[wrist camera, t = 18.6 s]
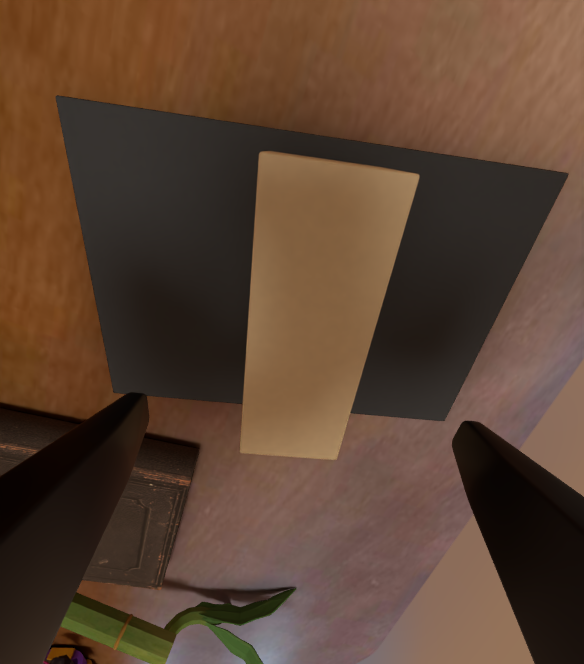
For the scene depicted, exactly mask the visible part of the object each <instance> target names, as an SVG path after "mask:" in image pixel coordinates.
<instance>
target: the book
mask: <svg viewBox="0 0 584 664" xmlns="http://www.w3.org/2000/svg"><path fill="white" fill-rule="evenodd" d="M43 664H93V663H92V662H91V660H89V659H87V660H85V658H84V656H83V655H82V653H81V652H80V651H77V650H76V649H75V648H51V649H49V651H48V653H47V655H46V657H45V659H44V662H43Z"/></svg>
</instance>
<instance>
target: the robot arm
mask: <svg viewBox="0 0 584 664" xmlns="http://www.w3.org/2000/svg"><path fill="white" fill-rule="evenodd" d="M148 422H149V410H148V403H147V397H146V395H145V394H144V393H135V392H130V393H127V394H126V395H124V396H123V397H121V398H119V399H118V400H116V401H115V402H113V403H112V404H110V405H109V406H107V407H106V408H104V409H103V410H101V411H99V412H98V413H96V414H95V415H93V416H92V417H90V418H89V419H87V420H86V421H84V422H83V423H81V424H80V425H78V426H76V427H75V428H73V429H72V430H70V431H69V432H67V433H66V434H64V435H63V436H61V437H60V438H58V439H56V440H55V441H53V442H52V443H50V444H49V445H47V446H46V447H44V448H43V449H41V450H40V451H38V452H37V453H35V454H33V455H32V456H30V457H29V458H27V459H26V460H24V461H23V462H21V463H20V464H18V465H17V466H15V467H13V468H12V469H10V470H9V471H7V472H6V473H4V474H3V475H1V476H0V664H43V662H44V659H45V657H46V655H47V653H48V651H49V649H50V647H51V645H52V642H53V640H54V638H55V636H56V634H57V632H58V630H59V628H60V625H61V623H62V621H63V619H64V617H65V615H66V613H67V610H68V608H69V606H70V604H71V602H72V600H73V598H74V596H75V593H76V591H77V589H78V587H79V585H80V583H81V581H82V578H83V576H84V574H85V572H86V570H87V568H88V566H89V564H90V561H91V559H92V557H93V555H94V553H95V551H96V549H97V547H98V544H99V542H100V540H101V538H102V536H103V534H104V532H105V529H106V527H107V525H108V523H109V521H110V519H111V517H112V515H113V512H114V510H115V508H116V506H117V504H118V502H119V500H120V497H121V495H122V493H123V491H124V489H125V487H126V485H127V482H128V480H129V478H130V475H131V472H132V470H133V467H134V464H135V461H136V458H137V455H138V452H139V449H140V446H141V443H142V440H143V437H144V434H145V432H146V429H147V426H148ZM452 448H453V452H454V455H455V459H456V462H457V465H458V469H459V472H460V475H461V479H462V482H463V485H464V489H465V492H466V495H467V498H468V501H469V503H470V506H471V509H472V511H473V514H474V516H475V518H476V521H477V523H478V526H479V528H480V531H481V533H482V536H483V538H484V541H485V543H486V545H487V548H488V550H489V553H490V555H491V558H492V560H493V563H494V565H495V567H496V570H497V572H498V575H499V577H500V580H501V582H502V585H503V587H504V590H505V592H506V595H507V597H508V599H509V602H510V604H511V607H512V609H513V612H514V614H515V616H516V619H517V622H518V624H519V626H520V629H521V631H522V634H523V636H524V639H525V641H526V644H527V646H528V649H529V651H530V653H531V656H532V658H533V661H534V663H535V664H584V497H583V496H582V495H581V494H579V493H578V492H576V491H575V490H574V489H572V488H571V487H569V486H568V485H567V484H565V483H564V482H562V481H561V480H560V479H558V478H557V477H555V476H554V475H553V474H551V473H550V472H548V471H547V470H546V469H544V468H543V467H541V466H540V465H538V464H537V463H536V462H534V461H533V460H531V459H530V458H529V457H527V456H526V455H525V454H523V453H522V452H520V451H519V450H518V449H516V448H515V447H514V446H512V445H511V444H509V443H508V442H507V441H505V440H504V439H502V438H501V437H500V436H498V435H497V434H495V433H494V432H493V431H491V430H490V429H488V428H487V427H486V426H484V425H483V424H481V423H480V422H476V421H464V422H462V423H461V425H460V427H459V429H458V431H457V432H456V434H455V436H454V438H453V440H452Z"/></svg>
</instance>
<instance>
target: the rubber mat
mask: <svg viewBox="0 0 584 664" xmlns="http://www.w3.org/2000/svg"><path fill="white" fill-rule="evenodd" d="M56 102H57V107H58V112H59V117H60V122H61V127H62V132H63V137H64V142H65V148H66V153H67V158H68V163H69V168H70V173H71V178H72V183H73V188H74V193H75V198H76V203H77V209H78V214H79V219H80V224H81V229H82V234H83V239H84V244H85V249H86V254H87V259H88V264H89V270H90V275H91V280H92V285H93V290H94V295H95V300H96V305H97V310H98V315H99V320H100V325H101V331H102V336H103V341H104V346H105V351H106V356H107V361H108V366H109V371H110V376H111V381H112V387H113V392H114V393H121V394H127V393H130V392H135V393H144V394H145V395H146V396H156V397H168V398H179V399H191V400H202V401H214V402H226V403H237V404H243V392H244V376H245V361H246V346H247V330H248V315H249V299H250V284H251V269H252V253H253V238H254V222H255V207H256V192H257V176H258V161H259V153H260V152H262V151H274V152H281V153H287V154H294V155H301V156H308V157H315V158H322V159H329V160H336V161H343V162H350V163H356V164H363V165H370V166H377V167H383V168H388V169H394V170H399V171H405V172H410V173H416V174H418V175H419V181H418V184H417V188H416V191H415V195H414V198H413V201H412V205H411V208H410V212H409V215H408V218H407V222H406V225H405V229H404V232H403V235H402V239H401V242H400V246H399V249H398V252H397V256H396V259H395V263H394V266H393V269H392V273H391V276H390V280H389V283H388V286H387V290H386V293H385V297H384V300H383V303H382V307H381V310H380V314H379V317H378V320H377V324H376V327H375V331H374V334H373V337H372V341H371V344H370V348H369V351H368V354H367V358H366V361H365V365H364V368H363V371H362V375H361V378H360V382H359V385H358V388H357V392H356V395H355V399H354V402H353V405H352V409H351V412H350V413H354V414H365V415H377V416H389V417H400V418H412V419H424V420H435V421H445V419H446V417H447V415H448V413H449V411H450V409H451V407H452V405H453V403H454V401H455V399H456V397H457V395H458V393H459V391H460V389H461V387H462V385H463V383H464V381H465V379H466V377H467V375H468V373H469V371H470V369H471V367H472V365H473V363H474V361H475V359H476V357H477V355H478V353H479V351H480V349H481V347H482V345H483V343H484V341H485V339H486V337H487V335H488V333H489V331H490V329H491V327H492V326H493V324H494V322H495V320H496V318H497V316H498V314H499V312H500V310H501V308H502V306H503V304H504V302H505V300H506V298H507V296H508V294H509V292H510V290H511V288H512V286H513V284H514V282H515V280H516V278H517V276H518V274H519V272H520V270H521V268H522V266H523V264H524V262H525V260H526V258H527V256H528V254H529V252H530V250H531V248H532V246H533V244H534V242H535V240H536V238H537V236H538V234H539V232H540V230H541V228H542V226H543V224H544V222H545V220H546V218H547V216H548V214H549V212H550V210H551V208H552V207H553V205H554V203H555V201H556V199H557V197H558V195H559V193H560V191H561V189H562V187H563V185H564V183H565V181H566V179H567V177H568V173H564V172H557V171H551V170H544V169H537V168H531V167H524V166H518V165H511V164H505V163H498V162H491V161H485V160H478V159H472V158H465V157H458V156H452V155H445V154H439V153H432V152H426V151H419V150H412V149H406V148H399V147H393V146H386V145H380V144H373V143H366V142H360V141H353V140H347V139H340V138H334V137H327V136H320V135H314V134H307V133H301V132H294V131H288V130H281V129H274V128H268V127H261V126H255V125H248V124H242V123H235V122H228V121H222V120H215V119H209V118H202V117H195V116H189V115H182V114H176V113H169V112H163V111H156V110H149V109H143V108H136V107H130V106H123V105H117V104H110V103H103V102H97V101H90V100H84V99H77V98H71V97H64V96H56Z"/></svg>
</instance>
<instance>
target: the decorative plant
mask: <svg viewBox="0 0 584 664" xmlns="http://www.w3.org/2000/svg"><path fill="white" fill-rule="evenodd" d="M295 590H296V588H294V589H290V590H286V591H284V592H282V593H279V594H277V595H275V596H273V597H271V598H270V599H268V600H264V601H259V602H254V603H251V604H249V605H246V606H243V607H238V606H234V605H231V604H230V603H227V604H212V603H208V602H201V603H200V604H199V605H197V606H196V607H192V608H188V609H186V610H184V611H182V612H180V613H178V614H177V615H176V616H175V617H174V618H173V619H172V620H171V621H170V622H169V623H168V624H167V625H166V626H165V628H164V629H163V628H161V627H158V626H156V625H154V624H151V623H149V622H146V621H144V620H141V619H139V618H137V617H134V616H133V614H130V615H129V614H127V613H125V612H122V611H120V610H117V609H115V608H113V607H110V606H108V605H105V604H103V603H100V602H98V601H96V600H93V599H91V598H88V597H86V596H84V595H81V594H79V593H75V596H74V598H73V600H72V602H71V604H70V606H69V608H68V610H67V613H66V615H65V617H64V619H63V621H62V623H61V625H60V626H61V627H63V628H66V629H68V630H71V631H73V632H75V633H78V634H80V635H83V636H85V637H87V638H90V639H92V640H95V641H97V642H100V643H102V644H104V645H107V646H109V647H112V648H113V649H114V650H119V651H121V652H124V653H126V654H129V655H131V656H133V657H136V658H138V659H141V660H143V661H145V662H148V663H150V664H165V663H166V660H167V658H168V655H169V653H170V650H171V648H172V645H173V643H174V640H175V637H176V635H177V634H178V633H179V632H180V631H181V630H182V629H183V628H185V627H187V626H189V625H193V624H202V625H205V626H208V627H209V628H210V629H211V630H212V631H213V632H214V633H215V634H216V636H217V637H218V638H219V639H220V640H221V641H222V642H223V644H224V645H225V646H226V647H227V648H228V649H229V650H230V652H231V653H233V654H234V655H236V656H238V657H240V658H241V659H243V660H244V661H245V662H246V664H263V662H262V661H261V659H260V658H259V656H258V654H257V653H256V651H255V649H254V648H253V646H252V645H251V644H249V643H247V642H245V641H243V640H241V639H240V638H238V637H237V636H235V635H234V634H232V633H231V632H229V631H228V630H225V629H223V628H220V627H217V626H215V625H218V624H221V623H230V624H234V625H239V626H241V625H244V624H246V623H249V622H251V621H254V620H256V619H259V618H263V617H266V616H269V615H271V614H272V613H273V612H275V611H276V610H277V609H278V608H279V607H280V606H281V605H282V604H283V603H284V602H285V601H286V600H287V598H288V597H289V596H290V595H291V594H292V593H293V592H294V591H295Z"/></svg>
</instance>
